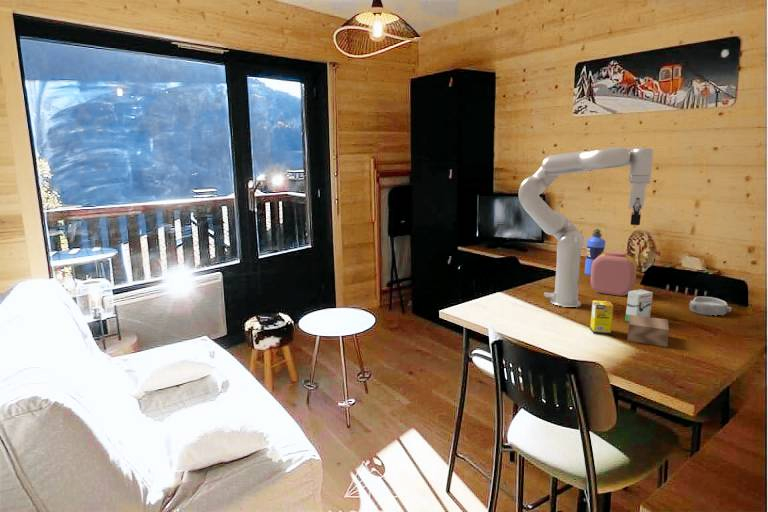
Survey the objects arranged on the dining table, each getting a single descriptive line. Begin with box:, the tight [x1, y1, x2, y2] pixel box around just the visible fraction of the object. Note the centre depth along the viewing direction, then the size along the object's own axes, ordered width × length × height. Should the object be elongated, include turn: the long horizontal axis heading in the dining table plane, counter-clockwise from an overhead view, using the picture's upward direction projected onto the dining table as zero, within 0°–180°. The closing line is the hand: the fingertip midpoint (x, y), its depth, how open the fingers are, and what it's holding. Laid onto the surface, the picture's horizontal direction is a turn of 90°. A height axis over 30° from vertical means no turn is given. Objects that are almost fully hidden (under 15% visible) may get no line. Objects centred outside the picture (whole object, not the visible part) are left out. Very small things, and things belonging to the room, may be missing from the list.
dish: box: [688, 296, 733, 317], centre depth 201 cm, size 14×14×5 cm
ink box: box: [624, 289, 654, 323], centre depth 188 cm, size 9×5×12 cm, turn 117°
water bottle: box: [584, 228, 606, 277], centre depth 266 cm, size 9×9×25 cm
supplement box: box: [589, 299, 614, 336], centre depth 176 cm, size 6×6×11 cm
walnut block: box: [626, 315, 670, 348], centre depth 170 cm, size 12×12×6 cm
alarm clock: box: [589, 250, 638, 297], centre depth 228 cm, size 18×11×19 cm, turn 58°
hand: (635, 223), depth 194 cm, fingers open, 9 cm apart
